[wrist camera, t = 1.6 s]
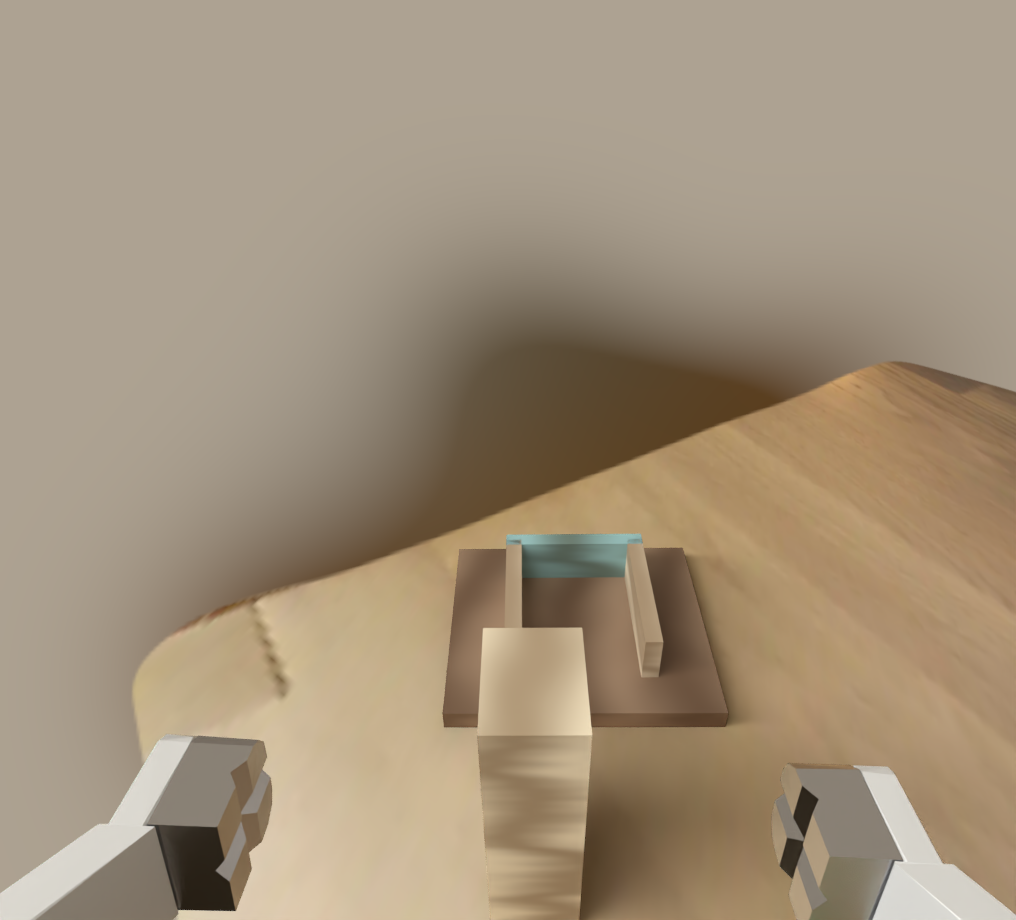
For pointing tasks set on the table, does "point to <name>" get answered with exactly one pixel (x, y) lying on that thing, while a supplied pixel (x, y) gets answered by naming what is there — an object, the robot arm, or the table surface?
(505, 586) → the dock
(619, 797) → the table surface
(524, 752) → the tan tall rectangular block
